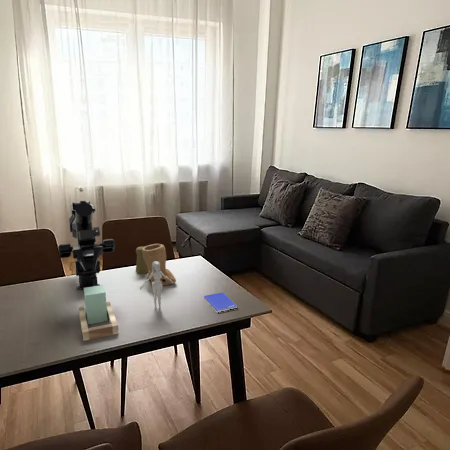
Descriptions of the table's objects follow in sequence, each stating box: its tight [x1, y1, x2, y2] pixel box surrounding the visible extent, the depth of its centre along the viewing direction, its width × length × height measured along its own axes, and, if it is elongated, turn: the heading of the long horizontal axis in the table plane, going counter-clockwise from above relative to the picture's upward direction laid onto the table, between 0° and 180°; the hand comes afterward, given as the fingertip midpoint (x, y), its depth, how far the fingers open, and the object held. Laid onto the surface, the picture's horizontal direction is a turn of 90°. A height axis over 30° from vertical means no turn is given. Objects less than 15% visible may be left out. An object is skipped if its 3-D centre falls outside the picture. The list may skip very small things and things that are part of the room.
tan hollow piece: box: [142, 243, 177, 286], centre depth 152 cm, size 15×12×15 cm
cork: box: [135, 246, 149, 274], centre depth 161 cm, size 6×6×11 cm
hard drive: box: [203, 292, 239, 314], centre depth 134 cm, size 2×8×12 cm
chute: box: [78, 300, 120, 342], centre depth 117 cm, size 17×10×4 cm, turn 25°
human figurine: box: [139, 261, 173, 313], centre depth 126 cm, size 12×4×18 cm, turn 122°
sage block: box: [83, 284, 108, 325], centre depth 119 cm, size 6×6×10 cm
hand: (90, 269), depth 127 cm, fingers open, 3 cm apart
